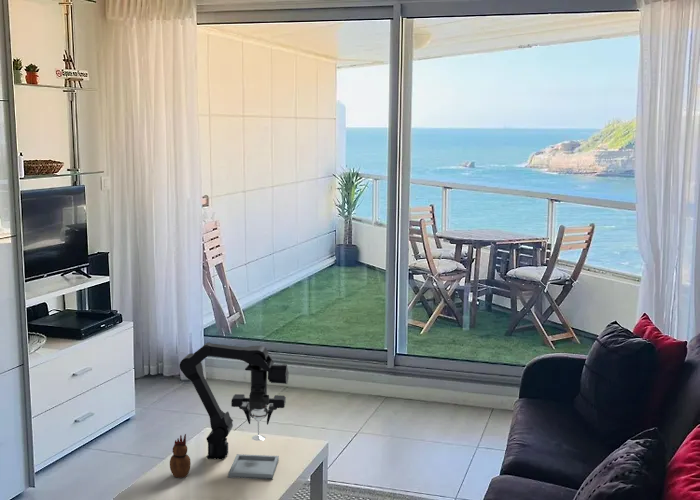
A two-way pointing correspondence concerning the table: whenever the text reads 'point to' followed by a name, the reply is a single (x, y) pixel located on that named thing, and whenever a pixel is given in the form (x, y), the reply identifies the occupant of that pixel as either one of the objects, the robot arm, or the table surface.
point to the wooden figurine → (180, 459)
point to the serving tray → (253, 466)
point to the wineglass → (258, 419)
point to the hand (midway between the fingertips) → (258, 424)
